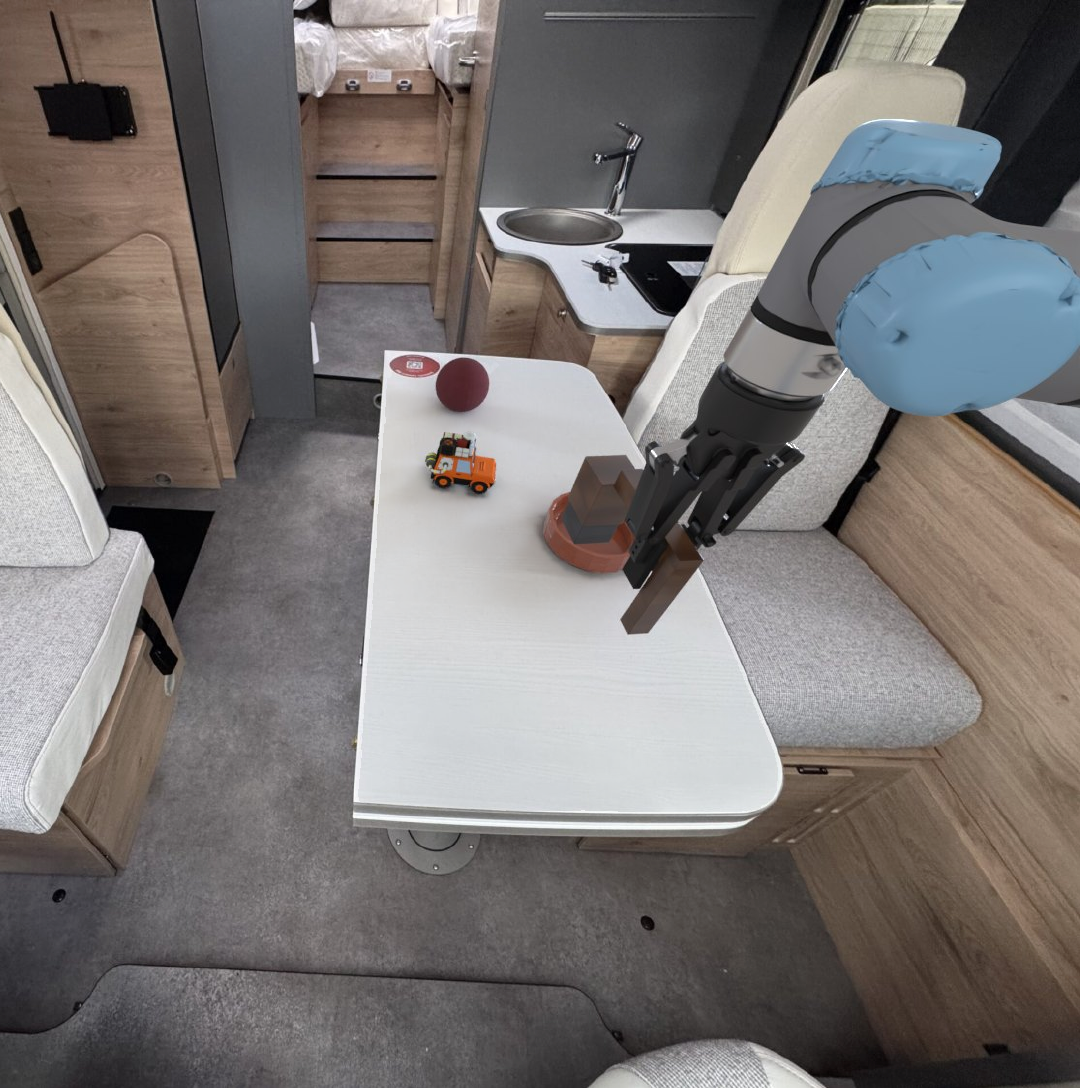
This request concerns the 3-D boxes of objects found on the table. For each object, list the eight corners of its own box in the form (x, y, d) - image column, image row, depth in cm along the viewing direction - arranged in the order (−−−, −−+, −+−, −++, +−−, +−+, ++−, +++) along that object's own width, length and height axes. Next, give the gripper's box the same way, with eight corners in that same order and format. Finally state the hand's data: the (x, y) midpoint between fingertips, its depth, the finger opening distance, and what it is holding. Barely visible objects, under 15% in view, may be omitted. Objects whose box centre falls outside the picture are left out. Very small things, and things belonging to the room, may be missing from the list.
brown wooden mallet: (659, 632, 62) (717, 559, 53) (616, 635, 62) (667, 562, 53) (595, 515, 74) (634, 439, 65) (558, 517, 74) (592, 440, 65)
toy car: (424, 461, 100) (431, 419, 94) (493, 471, 99) (505, 429, 93) (420, 487, 95) (428, 444, 89) (493, 498, 94) (506, 455, 88)
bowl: (652, 572, 85) (664, 554, 82) (561, 578, 83) (569, 560, 80) (612, 506, 94) (622, 488, 91) (529, 510, 93) (536, 492, 90)
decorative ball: (472, 428, 107) (483, 381, 100) (423, 412, 110) (430, 364, 103) (490, 403, 113) (502, 357, 106) (444, 388, 116) (452, 342, 109)
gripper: (703, 406, 40) (588, 611, 57) (903, 401, 41) (733, 602, 58) (653, 353, 45) (561, 555, 62) (833, 350, 46) (695, 548, 64)
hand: (645, 577), depth 60 cm, fingers closed on brown wooden mallet, 2 cm apart
